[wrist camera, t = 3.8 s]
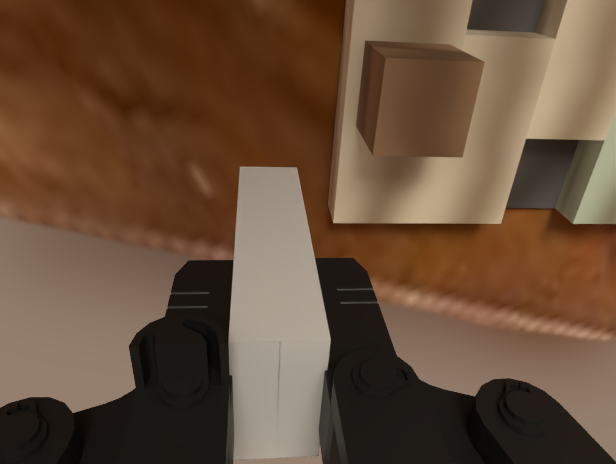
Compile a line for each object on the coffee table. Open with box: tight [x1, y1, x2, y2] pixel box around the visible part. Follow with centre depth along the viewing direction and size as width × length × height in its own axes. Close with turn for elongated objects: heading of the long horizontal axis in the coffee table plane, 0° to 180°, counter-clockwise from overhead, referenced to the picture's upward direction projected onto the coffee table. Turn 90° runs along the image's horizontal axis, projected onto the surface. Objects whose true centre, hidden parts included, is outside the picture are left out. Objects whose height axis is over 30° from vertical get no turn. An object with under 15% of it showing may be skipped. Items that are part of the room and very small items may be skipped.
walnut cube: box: [356, 40, 485, 158], centre depth 24 cm, size 4×4×4 cm
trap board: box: [328, 0, 616, 224], centre depth 27 cm, size 23×17×4 cm
